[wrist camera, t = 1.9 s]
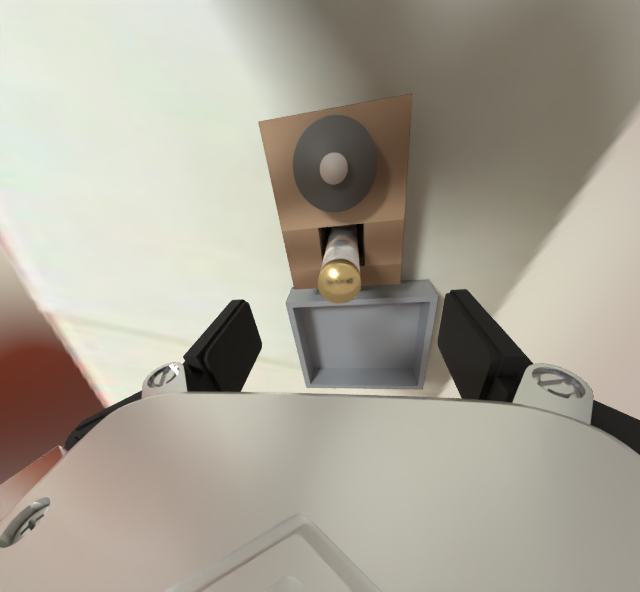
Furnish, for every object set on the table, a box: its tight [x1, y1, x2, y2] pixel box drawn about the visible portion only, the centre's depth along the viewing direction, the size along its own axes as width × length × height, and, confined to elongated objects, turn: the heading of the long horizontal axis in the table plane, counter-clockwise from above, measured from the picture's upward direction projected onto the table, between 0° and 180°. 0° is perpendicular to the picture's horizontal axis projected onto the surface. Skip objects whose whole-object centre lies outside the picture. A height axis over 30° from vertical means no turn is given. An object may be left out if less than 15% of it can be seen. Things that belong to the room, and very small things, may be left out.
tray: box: [286, 280, 438, 389], centre depth 26 cm, size 13×14×3 cm
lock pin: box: [318, 224, 361, 304], centre depth 17 cm, size 2×2×10 cm
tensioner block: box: [259, 94, 412, 290], centre depth 17 cm, size 12×9×6 cm
